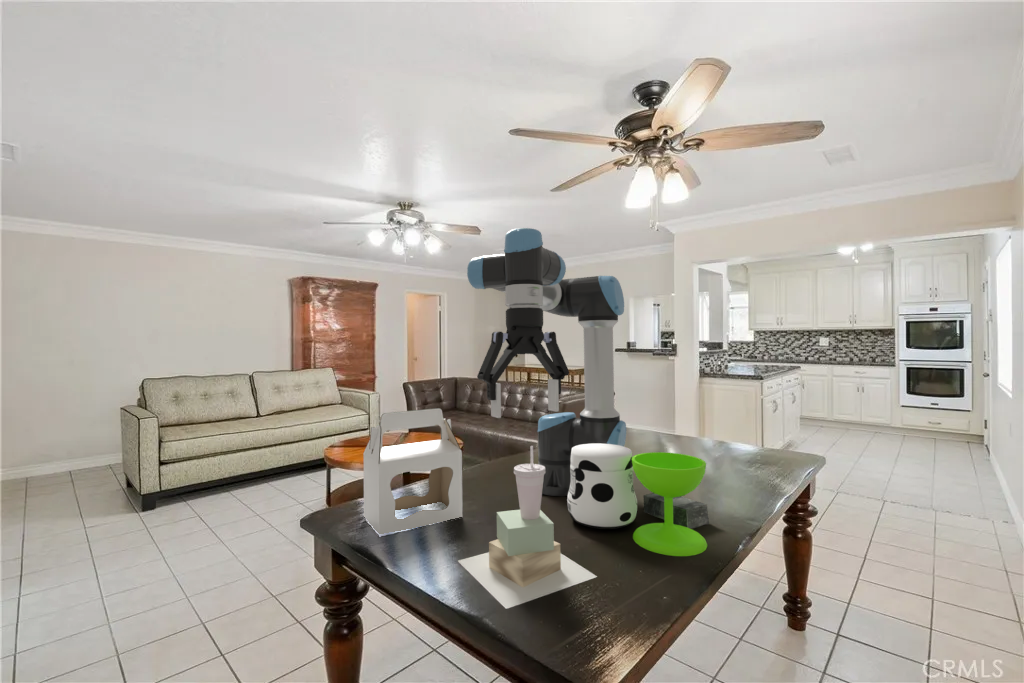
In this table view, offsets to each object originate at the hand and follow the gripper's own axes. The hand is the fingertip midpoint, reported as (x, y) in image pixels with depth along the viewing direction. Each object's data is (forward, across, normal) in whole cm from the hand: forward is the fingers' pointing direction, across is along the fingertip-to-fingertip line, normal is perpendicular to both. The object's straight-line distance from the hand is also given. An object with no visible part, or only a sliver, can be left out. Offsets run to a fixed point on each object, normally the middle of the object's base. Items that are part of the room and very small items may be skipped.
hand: (525, 413), depth 91 cm
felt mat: (+31, -1, -1) cm, 31 cm away
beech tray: (+30, -1, -1) cm, 30 cm away
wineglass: (+31, +34, -6) cm, 47 cm away
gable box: (+31, -11, +37) cm, 50 cm away
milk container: (+31, +29, +10) cm, 44 cm away
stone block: (+32, +47, +2) cm, 56 cm away
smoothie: (+20, 0, -1) cm, 21 cm away
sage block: (+25, -1, -1) cm, 25 cm away
